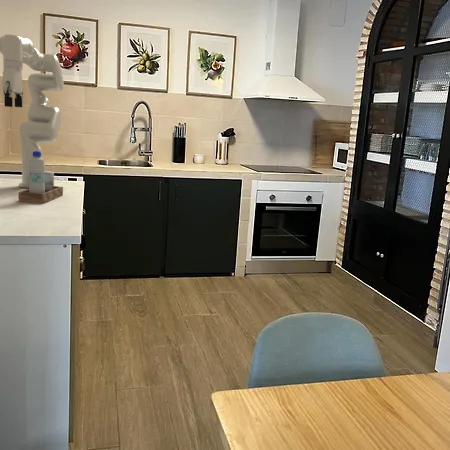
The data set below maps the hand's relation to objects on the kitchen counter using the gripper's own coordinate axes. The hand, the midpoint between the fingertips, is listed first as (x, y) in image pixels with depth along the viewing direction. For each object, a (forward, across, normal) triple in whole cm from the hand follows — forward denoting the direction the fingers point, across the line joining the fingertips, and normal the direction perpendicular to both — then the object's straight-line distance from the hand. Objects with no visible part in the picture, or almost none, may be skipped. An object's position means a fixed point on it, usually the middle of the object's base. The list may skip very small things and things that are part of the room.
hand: (13, 106), depth 218 cm
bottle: (+38, +10, +14) cm, 41 cm away
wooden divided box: (+38, +5, +14) cm, 41 cm away
